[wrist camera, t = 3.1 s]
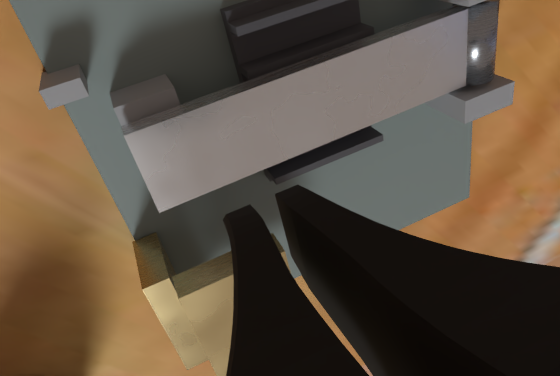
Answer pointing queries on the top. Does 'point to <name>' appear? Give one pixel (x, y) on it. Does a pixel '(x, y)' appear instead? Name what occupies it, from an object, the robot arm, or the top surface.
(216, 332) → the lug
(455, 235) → the top surface
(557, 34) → the top surface
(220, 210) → the clip base
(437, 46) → the strap
